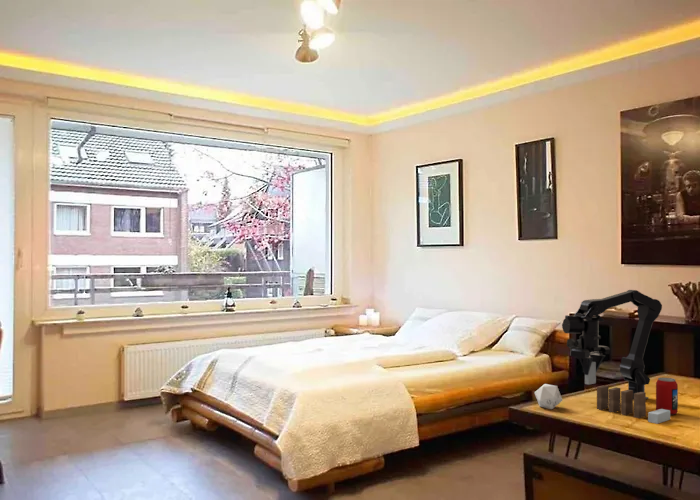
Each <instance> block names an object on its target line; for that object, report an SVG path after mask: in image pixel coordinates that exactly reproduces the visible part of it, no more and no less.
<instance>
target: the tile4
mask: <svg viewBox="0 0 700 500" xmlns="http://www.w3.org/2000/svg"><path fill="white" fill-rule="evenodd" d="M646 397H647V396H646V392H638V393H634V399H633V418H636V419H640V418H644V417H646V416H647V414H646V409H647V408H646V405H647V403H646V402H647V401H646V400H647V399H646Z"/></svg>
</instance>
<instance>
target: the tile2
mask: <svg viewBox="0 0 700 500" xmlns="http://www.w3.org/2000/svg"><path fill="white" fill-rule="evenodd" d="M617 411H618V412H621V387H616V386H615V387H612V388H609V408H608V412H609V413H611V412H614V413H618V412H617Z"/></svg>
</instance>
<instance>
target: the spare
mask: <svg viewBox="0 0 700 500" xmlns="http://www.w3.org/2000/svg"><path fill="white" fill-rule="evenodd" d="M596 383H597V372H596V362H592V363H591V367H590V371H589V374H588V375H585V374H584V384H585V385H592V384H593V385H594V384H596Z"/></svg>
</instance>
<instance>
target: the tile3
mask: <svg viewBox="0 0 700 500" xmlns="http://www.w3.org/2000/svg"><path fill="white" fill-rule="evenodd" d="M620 395H621V411H620V415H621V414H622V416H629V415H632V414H634V399H633V390H628V389H625V390H622V391H621V390H620Z"/></svg>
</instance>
